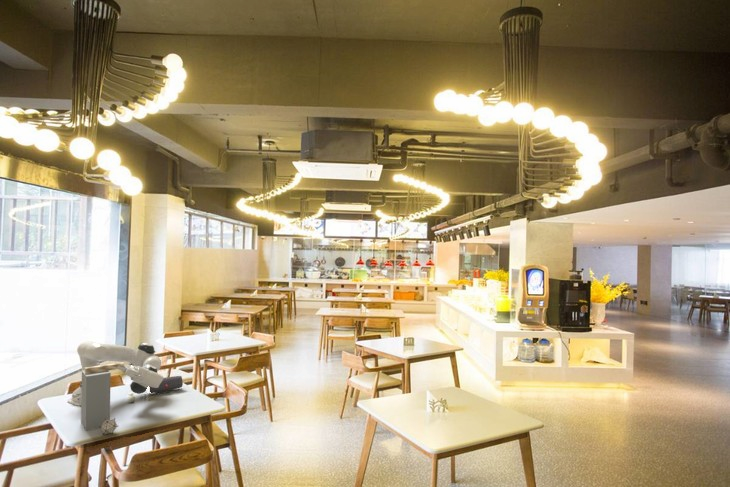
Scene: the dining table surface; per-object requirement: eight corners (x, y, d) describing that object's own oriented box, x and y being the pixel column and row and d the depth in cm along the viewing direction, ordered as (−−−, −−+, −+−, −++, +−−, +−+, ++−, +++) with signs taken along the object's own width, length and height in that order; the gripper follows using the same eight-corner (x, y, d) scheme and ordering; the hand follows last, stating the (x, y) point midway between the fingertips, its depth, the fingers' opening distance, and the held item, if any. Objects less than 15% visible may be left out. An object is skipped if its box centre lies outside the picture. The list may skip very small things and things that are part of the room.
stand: (104, 417, 272) (105, 367, 273) (109, 425, 260) (110, 372, 261) (81, 422, 264) (81, 370, 265) (85, 430, 252) (86, 376, 253)
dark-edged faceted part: (109, 441, 246) (104, 431, 240) (98, 434, 249) (93, 423, 243) (123, 429, 253) (119, 418, 247) (113, 421, 256) (109, 411, 250)
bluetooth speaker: (149, 396, 312) (149, 382, 312) (145, 393, 319) (145, 379, 319) (183, 390, 327) (183, 376, 327) (178, 387, 334) (178, 373, 334)
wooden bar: (123, 367, 273) (123, 362, 273) (124, 368, 271) (124, 363, 271) (84, 372, 260) (84, 367, 261) (85, 373, 258) (85, 368, 258)
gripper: (139, 382, 268) (116, 374, 260) (130, 375, 284) (109, 367, 276) (144, 372, 270) (122, 363, 263) (136, 365, 286) (115, 357, 278)
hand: (115, 365), depth 269 cm, fingers open, 6 cm apart
